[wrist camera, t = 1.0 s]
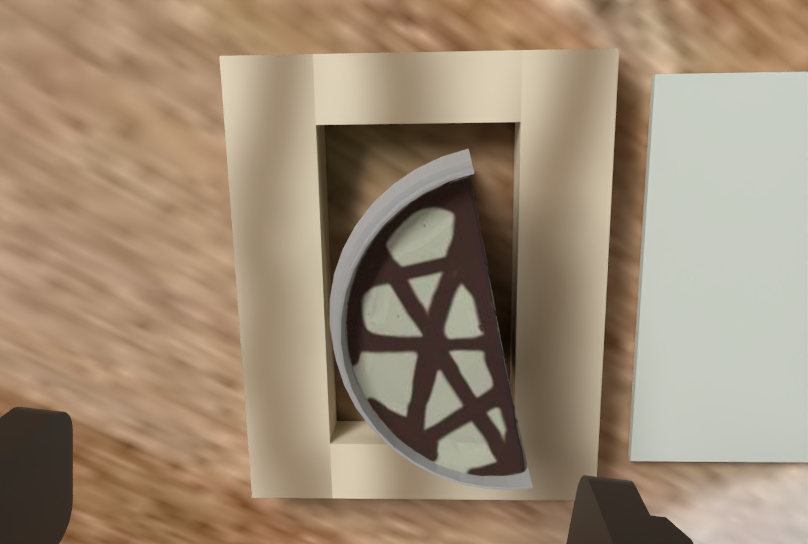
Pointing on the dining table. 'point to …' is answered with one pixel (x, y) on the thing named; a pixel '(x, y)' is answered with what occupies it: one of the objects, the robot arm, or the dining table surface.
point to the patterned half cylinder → (428, 331)
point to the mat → (723, 272)
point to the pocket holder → (310, 254)
